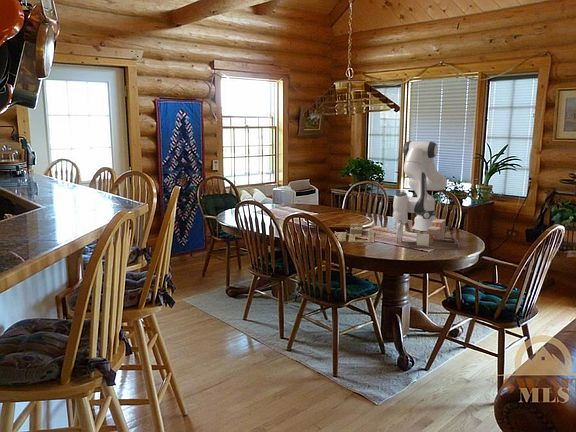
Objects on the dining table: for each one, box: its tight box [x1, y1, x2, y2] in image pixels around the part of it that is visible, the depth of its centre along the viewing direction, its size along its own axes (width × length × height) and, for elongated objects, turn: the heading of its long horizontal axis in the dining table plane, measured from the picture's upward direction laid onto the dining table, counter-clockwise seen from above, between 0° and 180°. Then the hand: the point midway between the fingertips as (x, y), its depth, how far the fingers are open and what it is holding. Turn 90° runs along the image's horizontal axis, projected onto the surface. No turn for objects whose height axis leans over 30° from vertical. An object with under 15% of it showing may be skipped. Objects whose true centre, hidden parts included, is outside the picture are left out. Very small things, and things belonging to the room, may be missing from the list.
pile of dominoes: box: [334, 223, 375, 244], centre depth 333 cm, size 35×27×6 cm
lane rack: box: [407, 237, 459, 251], centre depth 303 cm, size 12×28×5 cm, turn 78°
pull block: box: [396, 233, 429, 246], centre depth 305 cm, size 6×19×6 cm, turn 78°
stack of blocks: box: [426, 218, 446, 243], centre depth 318 cm, size 21×6×12 cm, turn 150°
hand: (399, 241), depth 307 cm, fingers closed on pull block, 2 cm apart
